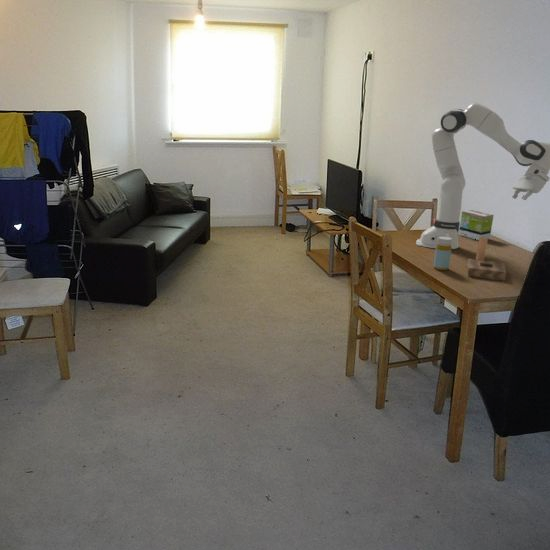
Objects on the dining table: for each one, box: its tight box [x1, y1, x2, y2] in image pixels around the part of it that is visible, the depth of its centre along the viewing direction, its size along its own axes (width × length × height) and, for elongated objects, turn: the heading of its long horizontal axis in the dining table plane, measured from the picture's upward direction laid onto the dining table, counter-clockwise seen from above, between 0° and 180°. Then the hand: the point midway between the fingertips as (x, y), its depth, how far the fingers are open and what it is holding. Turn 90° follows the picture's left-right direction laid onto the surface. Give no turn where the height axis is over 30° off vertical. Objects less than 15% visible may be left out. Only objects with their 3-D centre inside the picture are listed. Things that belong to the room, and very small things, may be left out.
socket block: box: [466, 258, 507, 281], centre depth 261 cm, size 16×16×4 cm
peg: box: [475, 237, 489, 261], centre depth 274 cm, size 4×4×13 cm
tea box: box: [458, 209, 494, 241], centre depth 326 cm, size 15×10×15 cm, turn 36°
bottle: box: [432, 236, 452, 271], centre depth 263 cm, size 7×7×15 cm
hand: (518, 198), depth 273 cm, fingers open, 8 cm apart
